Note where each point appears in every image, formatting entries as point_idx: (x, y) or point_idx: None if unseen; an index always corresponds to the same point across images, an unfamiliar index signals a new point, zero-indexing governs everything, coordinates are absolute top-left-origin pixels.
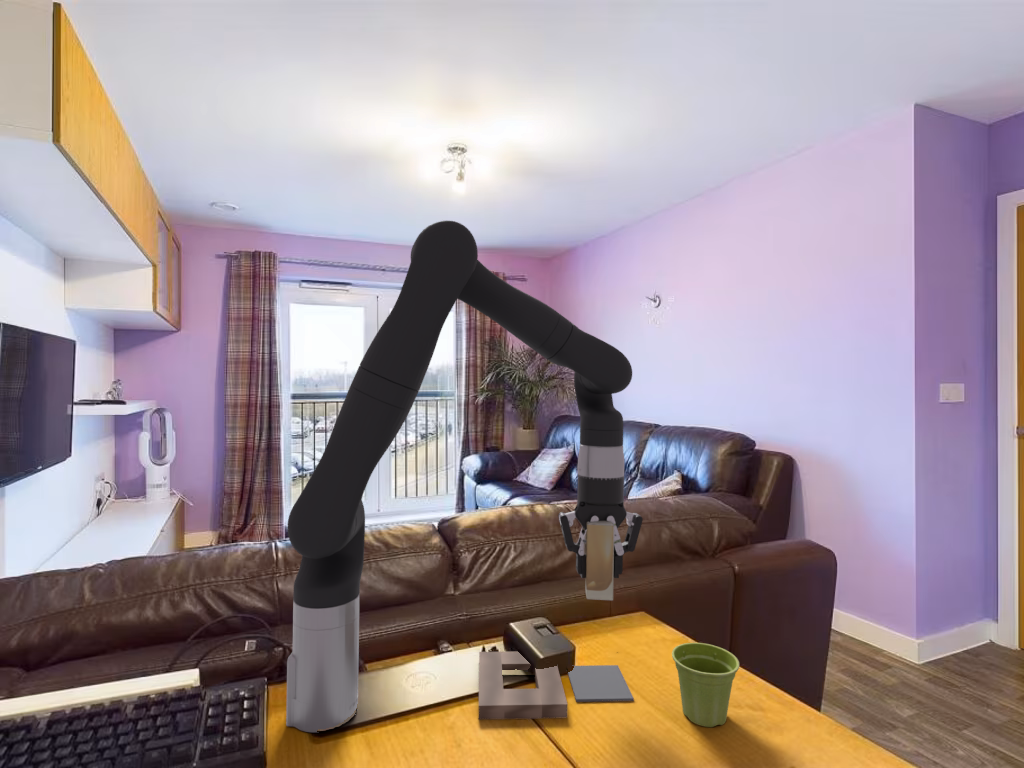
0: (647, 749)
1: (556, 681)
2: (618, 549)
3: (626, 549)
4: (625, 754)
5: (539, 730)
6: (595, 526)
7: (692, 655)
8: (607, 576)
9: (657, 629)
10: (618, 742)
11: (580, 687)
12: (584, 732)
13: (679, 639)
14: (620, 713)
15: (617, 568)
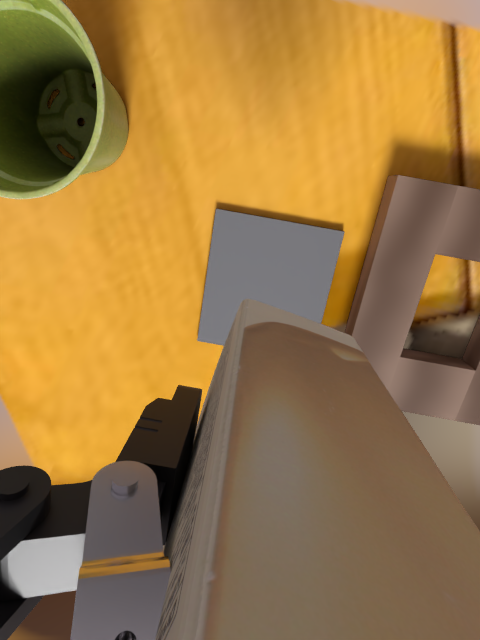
0: (264, 23)
1: (382, 273)
2: (134, 500)
3: (59, 501)
4: (320, 14)
5: (467, 143)
6: None
7: (30, 184)
8: (272, 343)
9: (51, 461)
10: (316, 62)
11: (315, 273)
12: (373, 115)
13: (18, 415)
14: (265, 169)
15: (176, 411)
